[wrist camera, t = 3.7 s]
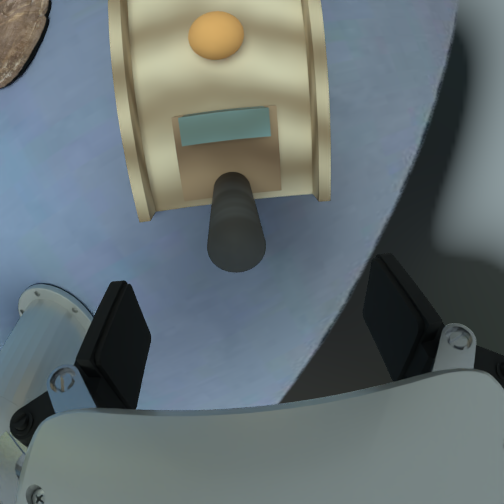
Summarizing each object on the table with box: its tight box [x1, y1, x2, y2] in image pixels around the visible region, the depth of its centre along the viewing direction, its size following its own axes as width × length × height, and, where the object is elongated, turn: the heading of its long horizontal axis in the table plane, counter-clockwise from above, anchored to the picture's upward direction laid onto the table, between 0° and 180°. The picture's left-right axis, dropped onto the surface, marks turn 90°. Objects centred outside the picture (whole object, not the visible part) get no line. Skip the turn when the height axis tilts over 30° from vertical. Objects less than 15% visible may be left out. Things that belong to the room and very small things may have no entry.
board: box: [108, 0, 331, 222], centre depth 15 cm, size 30×16×8 cm, turn 5°
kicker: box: [171, 105, 282, 272], centre depth 19 cm, size 8×8×11 cm
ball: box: [188, 11, 244, 60], centre depth 17 cm, size 4×4×4 cm
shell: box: [0, 0, 51, 89], centre depth 13 cm, size 12×13×4 cm
